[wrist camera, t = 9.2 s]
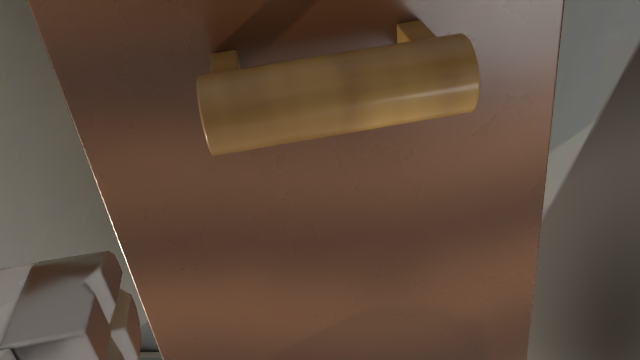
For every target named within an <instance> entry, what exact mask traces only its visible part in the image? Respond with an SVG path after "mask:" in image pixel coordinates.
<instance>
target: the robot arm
mask: <svg viewBox="0 0 640 360" xmlns="http://www.w3.org/2000/svg"><path fill="white" fill-rule="evenodd" d="M121 277H122V270H121V268H120V266H119V264H118V261H117V259H116V257H115V255H114V254H112V253H111V252H109V251H105V252H98V253H92V254H86V255H79V256H73V257H67V258H61V259H54V260H48V261H42V262H38V263H30V264H25V265H19V266H13V267H7V268H2V269H0V360H139V355H140V347H141V335H140V322H139V317H138V313H137V309H136V306H135V303H134V301H133V298H132V295H130V294H129V293H127V292H125V291H124V290H122V289H120V283H121Z"/></svg>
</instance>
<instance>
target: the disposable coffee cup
mask: <svg viewBox="0 0 640 360" xmlns="http://www.w3.org/2000/svg"><path fill="white" fill-rule="evenodd" d="M139 360H163V359H162V356H161V354H160V352H140V355H139Z"/></svg>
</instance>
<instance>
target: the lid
mask: <svg viewBox="0 0 640 360" xmlns="http://www.w3.org/2000/svg"><path fill="white" fill-rule="evenodd" d="M27 2H28V4H29V7H30V10H31V12H32V15H33V18H34V20H35V23H36V25H37V28H38V31H39V33H40V36H41V39H42V41H43V44H44V47H45V49H46V52H47V55H48V57H49V60H50V63H51V65H52V68H53V70H54V73H55V76H56V78H57V81H58V84H59V86H60V89H61V92H62V94H63V97H64V100H65V102H66V105H67V108H68V110H69V113H70V115H71V118H72V121H73V123H74V126H75V129H76V131H77V134H78V137H79V139H80V142H81V145H82V147H83V150H84V153H85V155H86V158H87V160H88V163H89V166H90V168H91V171H92V174H93V176H94V179H95V182H96V184H97V187H98V190H99V192H100V195H101V198H102V200H103V203H104V206H105V208H106V211H107V213H108V216H109V219H110V221H111V224H112V227H113V229H114V232H115V235H116V237H117V240H118V243H119V245H120V248H121V251H122V253H123V256H124V258H125V261H126V264H127V266H128V269H129V272H130V274H131V277H132V280H133V282H134V285H135V288H136V290H137V293H138V296H139V298H140V301H141V303H142V306H143V309H144V311H145V314H146V317H147V319H148V322H149V325H150V327H151V330H152V333H153V335H154V338H155V341H156V343H157V346H158V348H159V351H160V354H161V356H162V359H163V360H527V353H528V344H529V335H530V325H531V315H532V306H533V296H534V287H535V277H536V268H537V258H538V249H539V239H540V228H541V220H542V210H543V201H544V191H545V182H546V172H547V163H548V153H549V144H550V134H551V124H552V115H553V105H554V96H555V86H556V77H557V67H558V58H559V48H560V39H561V29H562V19H563V10H564V0H27Z"/></svg>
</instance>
